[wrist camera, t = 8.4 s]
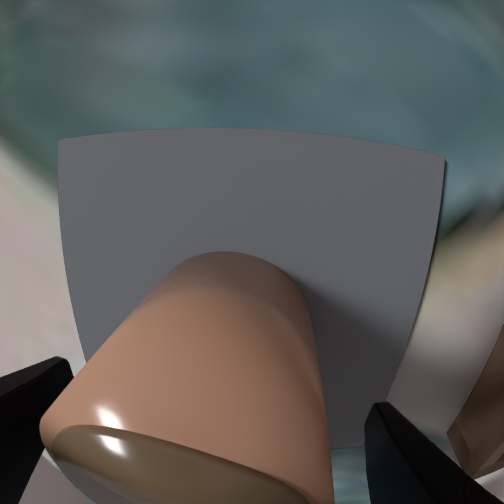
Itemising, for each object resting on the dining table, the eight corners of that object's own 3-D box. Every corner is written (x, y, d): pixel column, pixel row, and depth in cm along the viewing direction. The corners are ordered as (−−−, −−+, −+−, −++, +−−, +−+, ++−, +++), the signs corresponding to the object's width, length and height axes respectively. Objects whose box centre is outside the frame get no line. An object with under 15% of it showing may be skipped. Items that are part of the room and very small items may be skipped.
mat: (360, 443, 13) (361, 447, 12) (106, 410, 14) (104, 414, 13) (440, 156, 8) (445, 156, 8) (62, 140, 9) (58, 140, 9)
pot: (300, 394, 11) (301, 555, 4) (160, 377, 12) (91, 513, 5) (323, 258, 10) (389, 448, 3) (146, 244, 10) (-11, 365, 3)
